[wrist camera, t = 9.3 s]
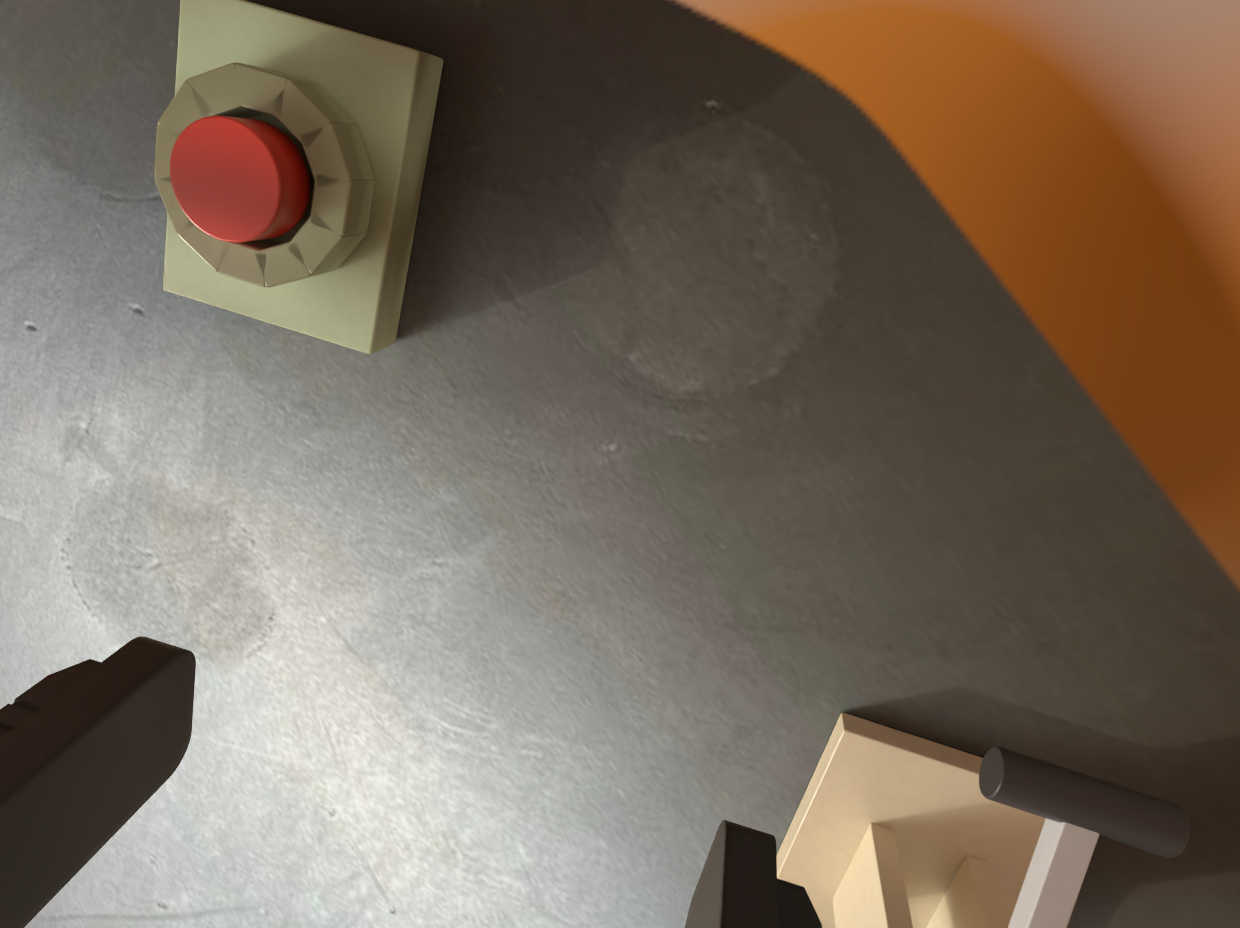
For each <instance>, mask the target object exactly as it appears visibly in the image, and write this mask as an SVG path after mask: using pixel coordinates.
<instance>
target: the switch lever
mask: <svg viewBox="0 0 1240 928" xmlns="http://www.w3.org/2000/svg"><path fill="white" fill-rule="evenodd" d="M979 787H980V791H981V793H982V795H983V796H984V797H985V798H986V799H989V800H992V801H995V802H998V803H1001V804H1004V805H1007V806H1010V807H1013V808H1016V809H1019V810H1022V811H1025V812H1028V813H1031V814H1034V815H1037V816H1040V817H1043V818H1046V820H1045V822H1044V825H1043V828H1042V831H1041V834H1040V837H1039V840H1038V843H1037V845H1036V848H1035V851H1034V854H1033V857H1032V860H1031V863H1030V865H1029V868H1028V871H1027V874H1026V877H1025V880H1024V883H1023V886H1022V888H1021V891H1020V894H1019V897H1018V900H1017V903H1016V906H1015V909H1014V911H1013V914H1012V917H1011V920H1010V923H1009V926H1008V928H1067V925H1068V923H1069V920H1070V917H1071V914H1072V911H1073V908H1074V905H1075V903H1076V900H1077V897H1078V894H1079V891H1080V888H1081V886H1082V883H1083V880H1084V877H1085V874H1086V871H1087V869H1088V866H1089V863H1090V860H1091V857H1092V854H1093V852H1094V849H1095V846H1096V843H1097V840H1098V837H1099V836H1101V837H1104V838H1107V839H1111V840H1114V841H1117V842H1120V843H1123V844H1126V845H1129V846H1132V847H1135V848H1138V849H1141V850H1144V851H1147V852H1150V853H1153V854H1156V855H1159V856H1162V857H1165V858H1175V857H1177V856H1179V855H1180V854H1181V853H1182V852H1183V851H1184V850H1185V848H1186V846H1187V843H1188V840H1189V834H1190V826H1189V821H1188V817H1187V815H1186V813H1185V812H1184V810H1183V809H1182V808H1181V807H1180V806H1178V805H1177V804H1174V803H1171V802H1168V801H1165V800H1162V799H1159V798H1156V797H1153V796H1150V795H1146V794H1143V793H1140V792H1137V791H1134V790H1131V789H1128V788H1125V787H1122V786H1119V785H1116V784H1113V783H1109V782H1106V781H1103V780H1100V779H1097V778H1094V777H1091V776H1088V775H1085V774H1082V773H1079V772H1076V771H1072V770H1069V769H1066V768H1063V767H1060V766H1057V765H1054V764H1051V763H1048V762H1045V761H1042V760H1039V759H1035V758H1032V757H1029V756H1026V755H1023V754H1020V753H1017V752H1014V751H1011V750H1008V749H1005V748H1002V747H998V746H995V747H992V748H990V749H989V750H988V751H987V753H986V754H985V756H984V758H983V760H982V763H981V767H980V772H979Z"/></svg>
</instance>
